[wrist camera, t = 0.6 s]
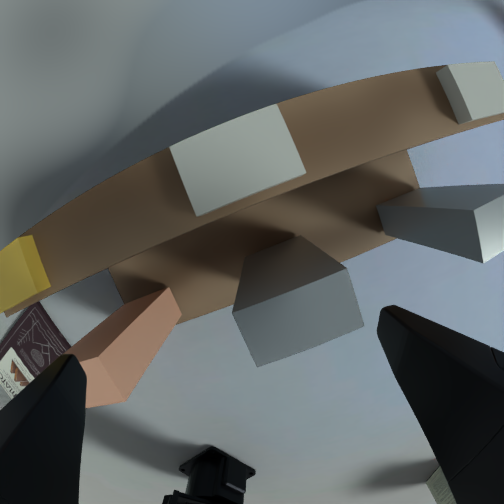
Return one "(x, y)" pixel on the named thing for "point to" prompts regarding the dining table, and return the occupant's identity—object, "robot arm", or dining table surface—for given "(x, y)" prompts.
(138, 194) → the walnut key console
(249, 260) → the middle slate key
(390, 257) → the dining table surface
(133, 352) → the terracotta key
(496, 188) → the key
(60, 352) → the chocolate bar
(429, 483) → the skincare box
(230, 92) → the dining table surface
